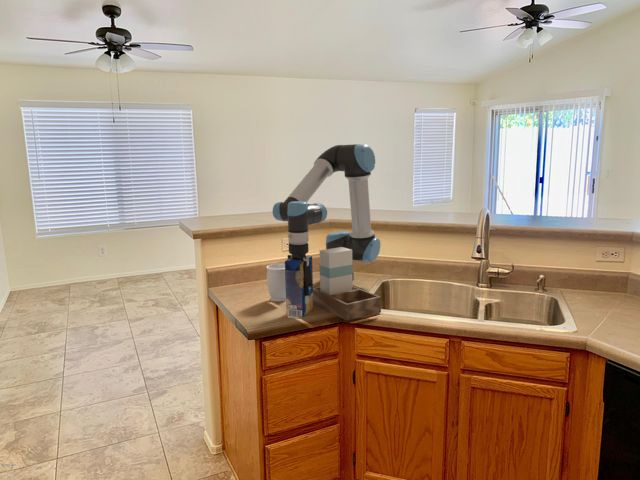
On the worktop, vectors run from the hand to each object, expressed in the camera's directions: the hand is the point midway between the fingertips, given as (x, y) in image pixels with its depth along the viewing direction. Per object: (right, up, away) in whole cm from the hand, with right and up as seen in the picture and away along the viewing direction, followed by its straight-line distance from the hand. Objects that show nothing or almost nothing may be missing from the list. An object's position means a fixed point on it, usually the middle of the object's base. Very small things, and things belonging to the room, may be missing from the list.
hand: (299, 300), depth 179 cm
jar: (-9, -2, +17) cm, 20 cm away
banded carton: (+15, -2, +10) cm, 18 cm away
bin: (+18, -4, +5) cm, 19 cm away
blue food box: (0, -5, +1) cm, 5 cm away
